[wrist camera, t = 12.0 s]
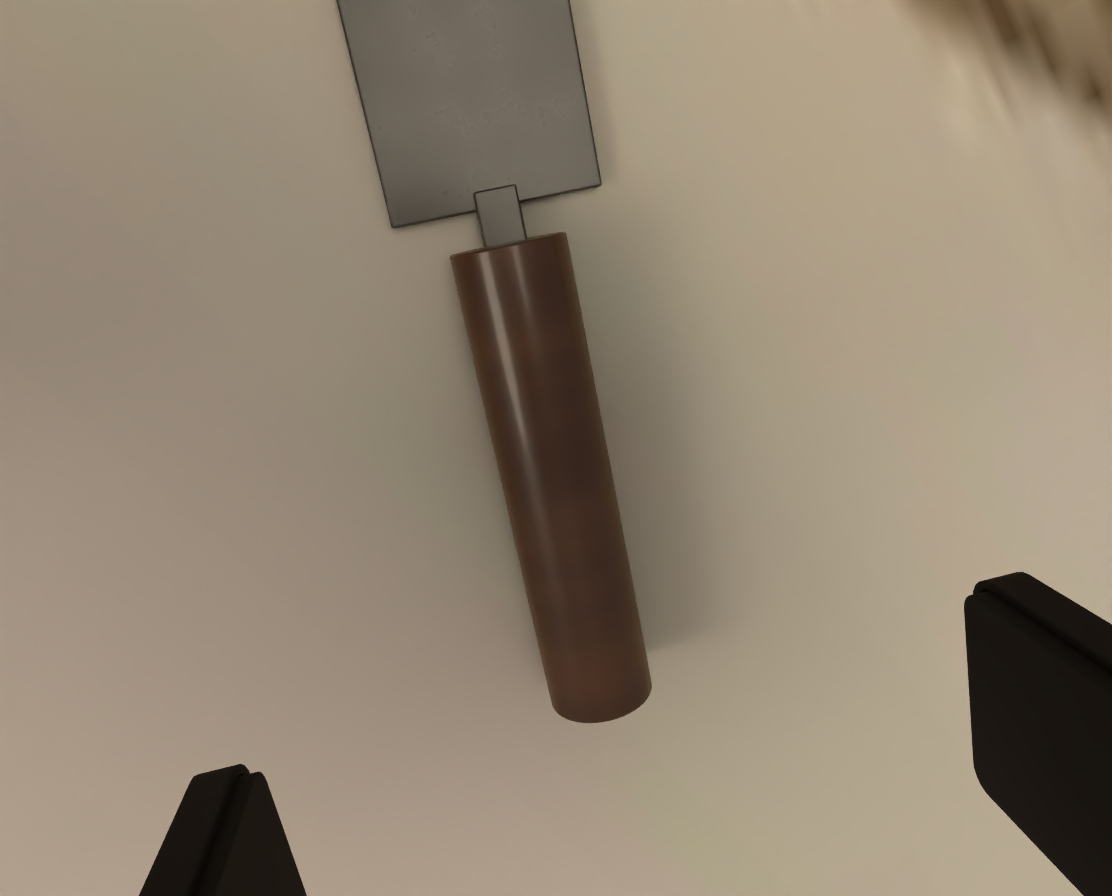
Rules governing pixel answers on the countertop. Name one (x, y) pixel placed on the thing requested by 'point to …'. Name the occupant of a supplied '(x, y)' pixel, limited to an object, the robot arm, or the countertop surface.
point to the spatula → (515, 298)
